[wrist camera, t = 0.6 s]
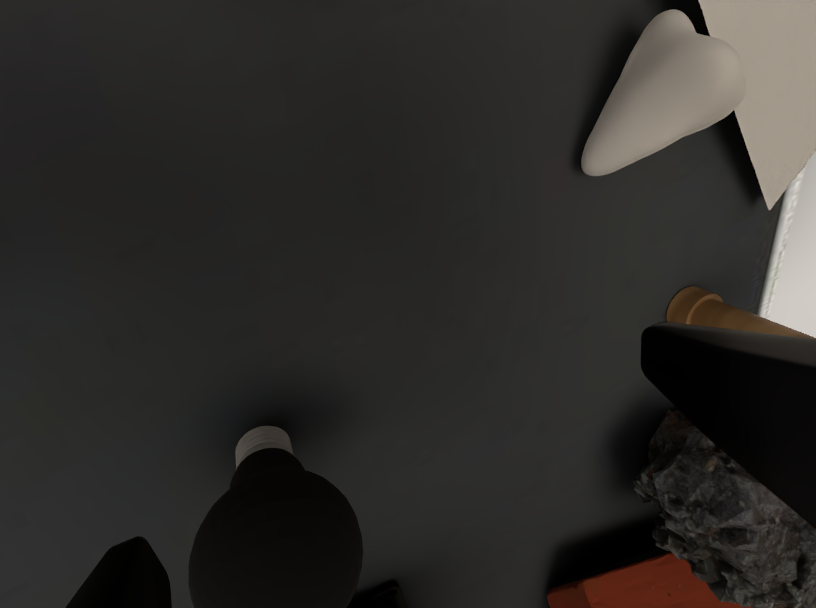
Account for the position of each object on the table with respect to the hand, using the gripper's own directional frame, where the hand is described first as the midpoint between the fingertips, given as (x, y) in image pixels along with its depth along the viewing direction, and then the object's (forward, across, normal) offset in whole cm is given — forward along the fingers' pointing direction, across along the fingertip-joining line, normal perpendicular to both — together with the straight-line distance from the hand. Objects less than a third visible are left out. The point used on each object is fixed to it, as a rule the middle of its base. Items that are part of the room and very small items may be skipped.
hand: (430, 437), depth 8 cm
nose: (+11, -19, -4) cm, 22 cm away
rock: (+8, -31, +22) cm, 38 cm away
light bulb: (+14, +4, +9) cm, 17 cm away
